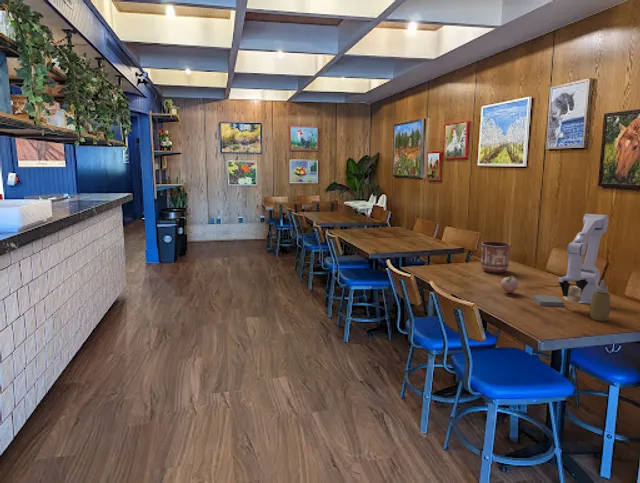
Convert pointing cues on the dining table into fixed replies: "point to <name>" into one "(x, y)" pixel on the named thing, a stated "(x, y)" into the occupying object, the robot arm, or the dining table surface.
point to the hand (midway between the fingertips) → (571, 295)
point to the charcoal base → (547, 300)
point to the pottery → (495, 256)
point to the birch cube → (573, 294)
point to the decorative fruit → (509, 284)
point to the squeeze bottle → (600, 303)
